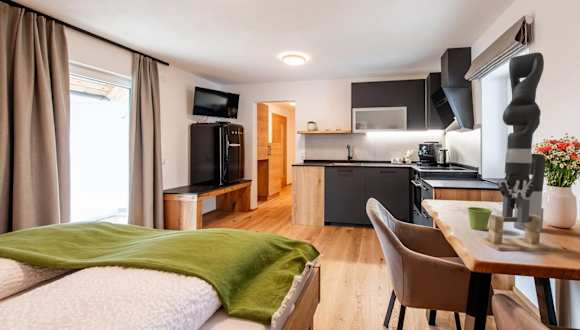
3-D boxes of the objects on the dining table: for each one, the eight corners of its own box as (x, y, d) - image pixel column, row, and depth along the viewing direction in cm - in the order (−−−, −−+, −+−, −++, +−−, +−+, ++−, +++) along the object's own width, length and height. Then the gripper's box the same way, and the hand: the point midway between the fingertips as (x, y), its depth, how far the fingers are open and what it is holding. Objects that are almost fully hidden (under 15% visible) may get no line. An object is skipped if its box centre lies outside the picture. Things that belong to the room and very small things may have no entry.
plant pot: (495, 232, 126) (496, 212, 126) (470, 230, 128) (471, 210, 128) (485, 226, 135) (486, 207, 135) (462, 225, 137) (463, 206, 137)
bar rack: (527, 240, 116) (528, 212, 115) (553, 250, 105) (555, 219, 104) (476, 240, 115) (478, 212, 114) (497, 250, 104) (499, 219, 103)
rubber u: (508, 216, 114) (509, 195, 113) (528, 222, 105) (529, 200, 104) (502, 216, 114) (503, 195, 113) (521, 222, 105) (522, 200, 104)
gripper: (528, 161, 112) (525, 206, 113) (492, 160, 111) (489, 206, 112) (546, 162, 104) (542, 211, 105) (507, 161, 104) (504, 210, 105)
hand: (515, 208), depth 109 cm, fingers closed on rubber u, 2 cm apart
